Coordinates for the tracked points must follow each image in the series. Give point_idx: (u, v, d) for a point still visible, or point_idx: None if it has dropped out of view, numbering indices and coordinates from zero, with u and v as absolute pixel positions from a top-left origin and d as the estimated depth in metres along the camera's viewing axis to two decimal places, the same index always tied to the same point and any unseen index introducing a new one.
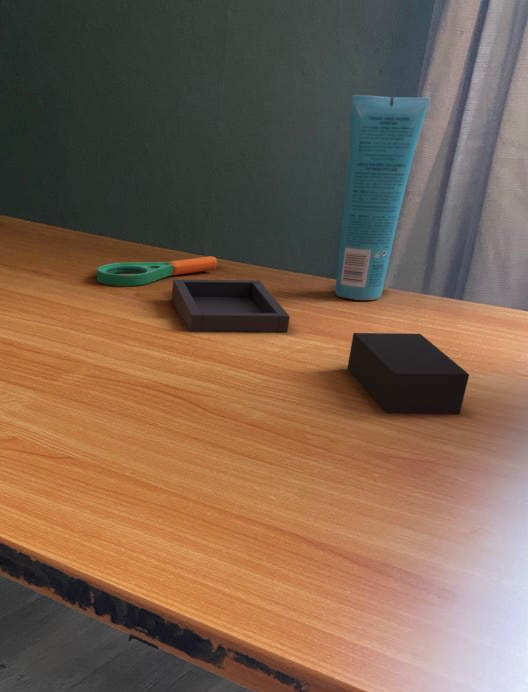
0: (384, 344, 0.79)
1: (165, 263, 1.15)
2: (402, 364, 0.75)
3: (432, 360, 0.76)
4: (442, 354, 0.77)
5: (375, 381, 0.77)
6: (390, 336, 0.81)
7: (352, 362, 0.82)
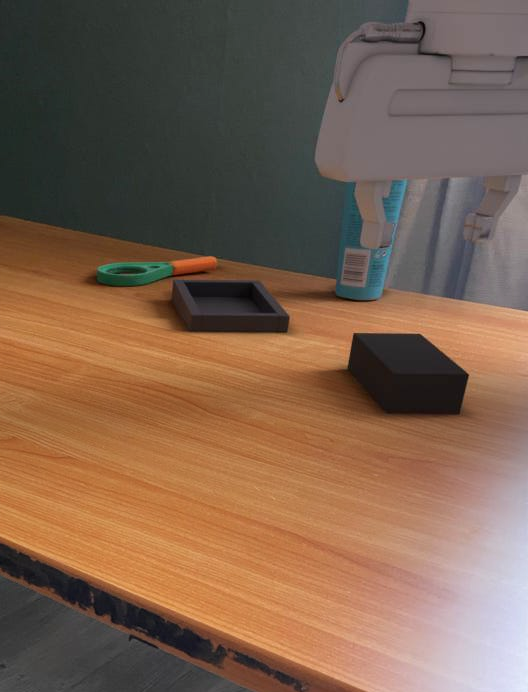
0: (384, 344, 0.79)
1: (165, 263, 1.15)
2: (402, 364, 0.75)
3: (432, 360, 0.76)
4: (442, 354, 0.77)
5: (375, 381, 0.77)
6: (390, 336, 0.81)
7: (352, 362, 0.82)
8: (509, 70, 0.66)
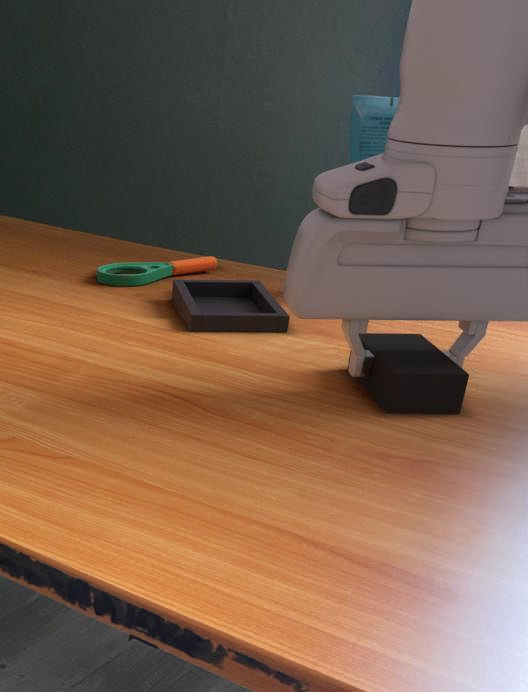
0: (384, 344, 0.79)
1: (165, 263, 1.15)
2: (402, 364, 0.75)
3: (432, 360, 0.76)
4: (442, 354, 0.77)
5: (375, 381, 0.77)
6: (390, 336, 0.81)
7: None
8: None
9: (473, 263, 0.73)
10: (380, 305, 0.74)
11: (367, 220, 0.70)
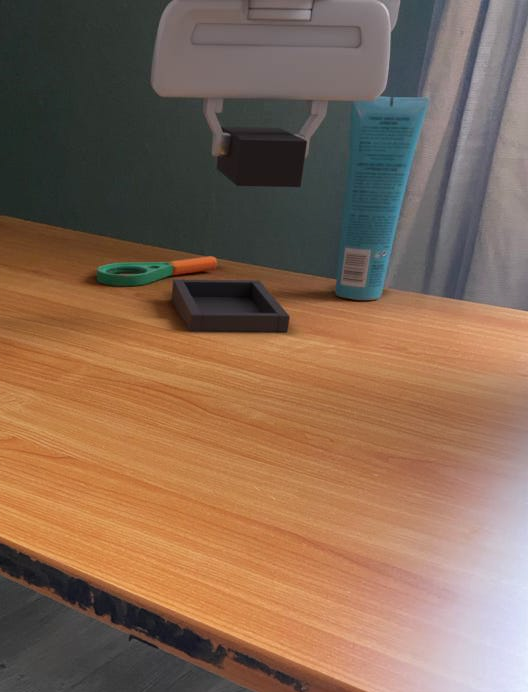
0: (243, 130, 0.90)
1: (165, 263, 1.15)
2: (251, 137, 0.86)
3: (280, 136, 0.87)
4: (291, 134, 0.88)
5: (231, 157, 0.88)
6: (252, 128, 0.92)
7: None
8: (253, 8, 0.86)
9: (309, 44, 0.84)
10: (231, 83, 0.85)
11: None
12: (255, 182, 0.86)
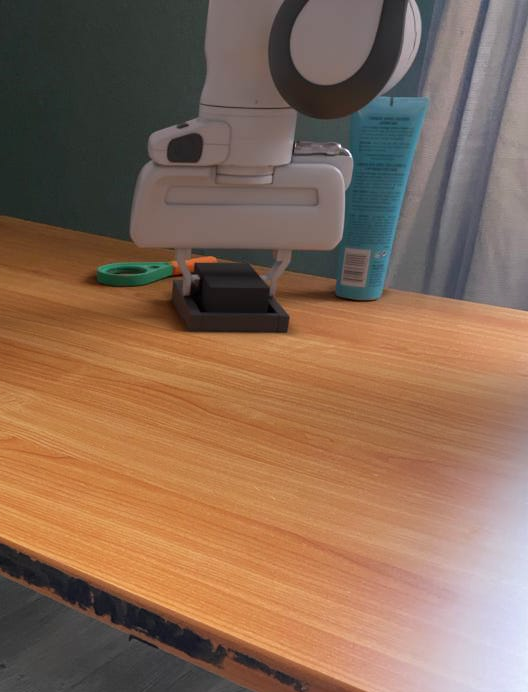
0: (214, 269, 0.99)
1: (165, 263, 1.15)
2: (220, 282, 0.95)
3: (246, 279, 0.96)
4: (257, 276, 0.97)
5: (203, 297, 0.97)
6: (223, 264, 1.01)
7: None
8: None
9: (272, 202, 0.93)
10: (201, 236, 0.94)
11: (183, 167, 0.90)
12: None
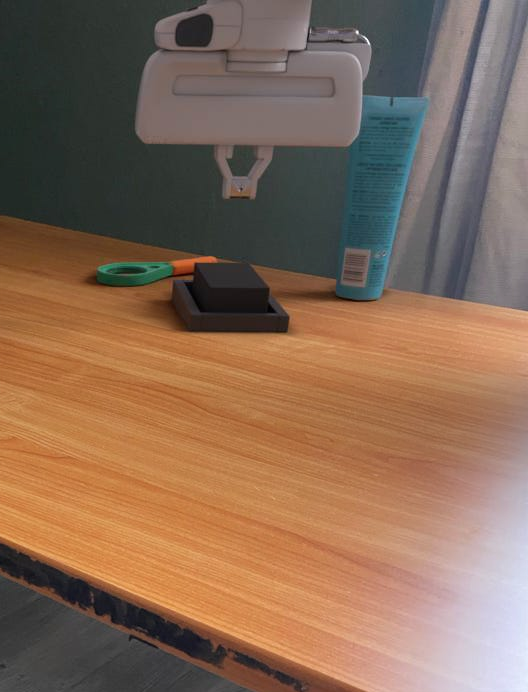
0: (214, 269, 0.99)
1: (165, 263, 1.15)
2: (220, 282, 0.95)
3: (246, 279, 0.96)
4: (257, 276, 0.97)
5: (203, 297, 0.97)
6: (223, 264, 1.01)
7: (194, 286, 1.02)
8: None
9: (285, 93, 0.88)
10: (211, 130, 0.89)
11: (192, 53, 0.85)
12: None
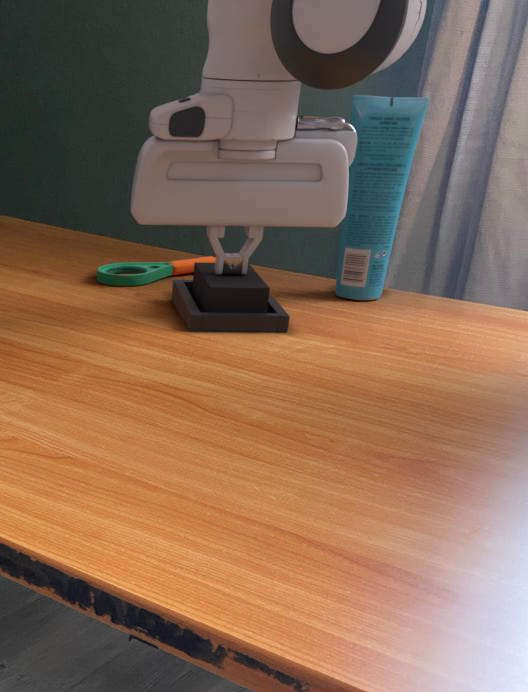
0: (214, 269, 0.99)
1: (165, 263, 1.15)
2: (220, 282, 0.95)
3: (246, 279, 0.96)
4: (257, 276, 0.97)
5: (203, 297, 0.97)
6: None
7: (194, 286, 1.02)
8: None
9: (275, 178, 0.91)
10: (203, 213, 0.93)
11: (185, 142, 0.89)
12: None
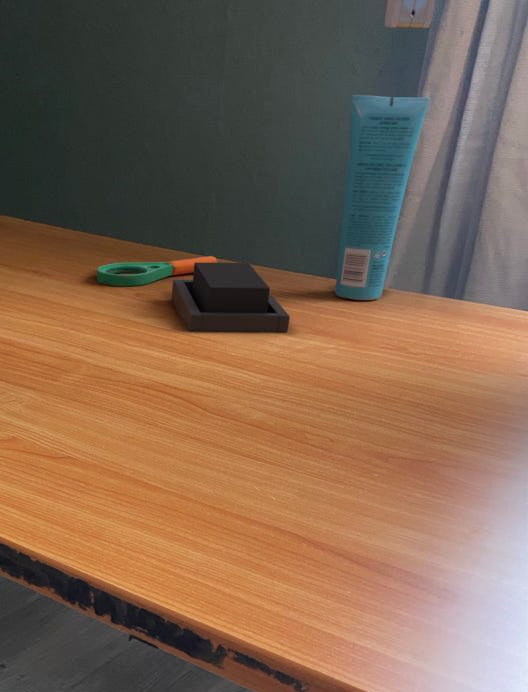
0: (214, 269, 0.99)
1: (165, 263, 1.15)
2: (220, 282, 0.95)
3: (246, 279, 0.96)
4: (257, 276, 0.97)
5: (203, 297, 0.97)
6: (223, 264, 1.01)
7: (194, 286, 1.02)
8: None
9: None
10: None
11: None
12: None
